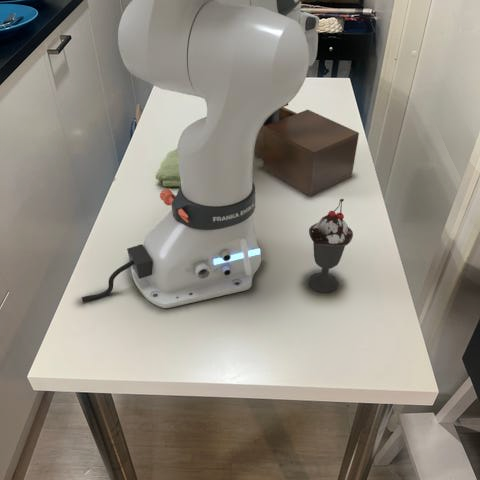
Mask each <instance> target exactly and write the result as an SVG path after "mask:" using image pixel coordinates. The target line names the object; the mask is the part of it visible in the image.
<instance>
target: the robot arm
mask: <svg viewBox="0 0 480 480" xmlns="http://www.w3.org/2000/svg"><path fill="white" fill-rule="evenodd" d="M319 25H320V17H319V16H317V15H315V14H312V13H310V12H306V11H304V10H302V0H131V1H130V2H129V3H128V5H127V6H126V7H125V9H124V11H123V13H122V15H121V17H120V21H119V23H118V30H117V45H118V50H119V53H120V58H121V60H122V62H123V64H124V67H125V68H126V69H127V71H128V72H129V73H130V75H132V76H133V77H136V78H138V79H139V80H141V81H143V82H145V83H147V84H149V85H152V86H154V87H156V88H158V89H160V90H165V91H168V92H173V93H178V94H183V95H187V96H193V97H197V98H201V99H202V100H203V99H204V102H205V104H206V116H204V117H202V118H200V119H198V120H196V121H193V122H191V123H190V124H189V125H188V126H187V127H186V128H185V129H184V130H182V133H181V134H180V136H179V138H178V141H177V147H176V150H177V152H178V162H179V171H180V180H181V185H180V186H178V190H177V193H176V195H175V194H174V193H173V192H172V190H171V189H169V188H164V189H162V190H161V191H160V193H159V199H160V200H161V201H162V202H163V204H164V205H166V206H171V210H170V211H169V213H167V214H166V215H165V217H164V218H162V219H161V221H159V222H158V223H157V224H156V225H155V226H154V227H153V228H152V229H151V230H150V231H149V232H147V234H146V235H145V236H144V238H143V242H142V243H141V244H138V245H134V246H132V247H128V248H126V250H127V255H128V260H129V261H128V262H126V263H125V264H123V265H122V266H119V267H118V268H117V269H116V270H114V271H113V272H112V273H111V274H110V276H109V278H108V285H107V288H106V289H105V290H104V291H103V292H101V293H98V294H90V295H85V296H81V300H82V303H83V302H87V301H94V300H98V299H103V298H105V297H107V296H108V295H109V294H111V293H112V291H113V289H114V281H115V279H116V278H117V276H119V274H121V273H122V272H124V271H126V270H128V269H129V268H130V267H131V276H132V279H133V281H134V284H135V285H136V287H137V289H138V290H139V292H140V293H141V294H142V295H143V296H144V298H145V299H146V300H147V301H148V302H150V303H151V304H153V305H154V306H156V307H159V308H161V309H170V308H174V307H179V306H183V305H187V304H192V303H196V302H201V301H206V300H209V299H214V298H218V297H222V296H227V295H232V294H236V293H240V292H244V291H248V290H250V289H251V288H252V285H253V277H254V275H255V273H256V272H257V271H258V270H259V268H260V266H261V265H262V264H261V263H262V253H261V248H259V245H258V240H257V236H256V235H257V234H256V229H255V220H254V213H255V211H256V185H255V183H254V181H253V180H254V160H255V159H254V158H255V154H254V149H255V143H256V139H257V136H258V133H259V131H260V129H261V127H262V125H263V124H264V122H265V121H266V120H267V119H268V118H269V117H270V116H271V115H272V114H273V113H274V112H275V111H277V110H278V109H280V108H281V107H283V106H285V105H286V104H288V105H289V103H290V102H292V100H294V98H295V97H296V96H297V94H299V92H300V91H301V88H302V87H303V85H304V84H305V80H306V78H307V75H308V71H309V67H311V66H313V65H314V63H315V61H316V59H317V56H318V48H319V47H318V46H319V45H318V43H319V34H318V31H317V29H318V28H319V27H320V26H319ZM285 107H286V106H285Z"/></svg>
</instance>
